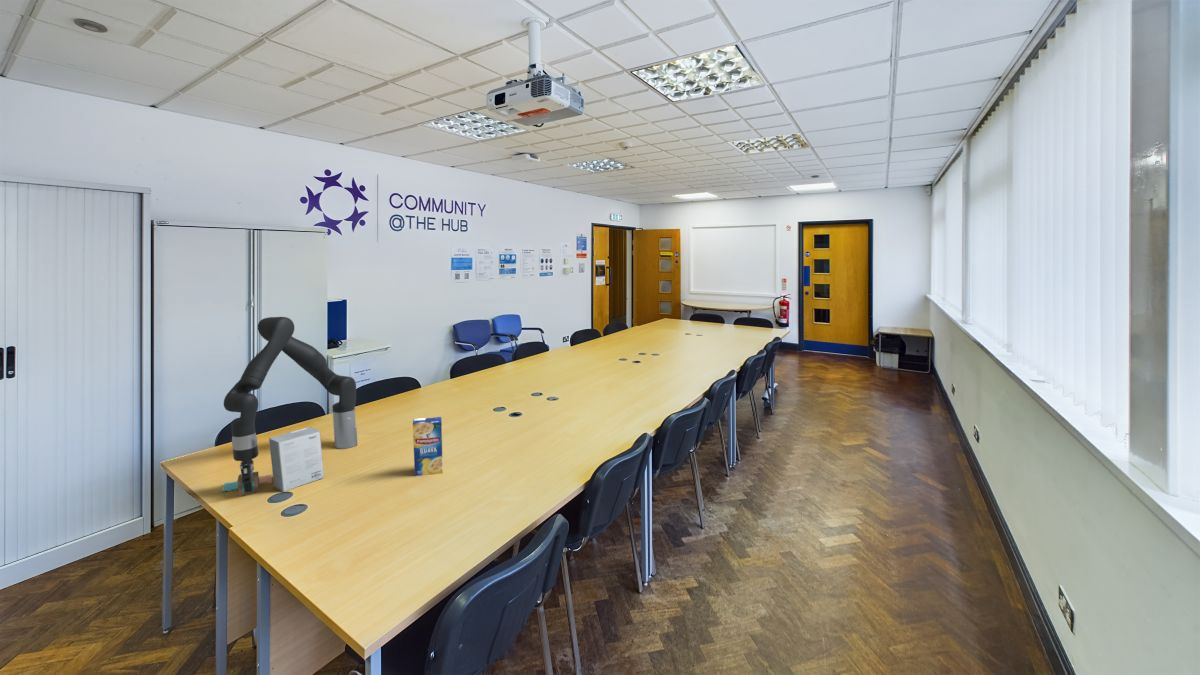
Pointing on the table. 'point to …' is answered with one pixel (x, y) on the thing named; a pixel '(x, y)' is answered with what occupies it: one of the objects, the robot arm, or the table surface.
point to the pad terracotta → (265, 479)
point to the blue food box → (427, 446)
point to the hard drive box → (296, 458)
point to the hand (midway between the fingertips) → (249, 488)
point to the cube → (254, 483)
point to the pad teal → (230, 486)
